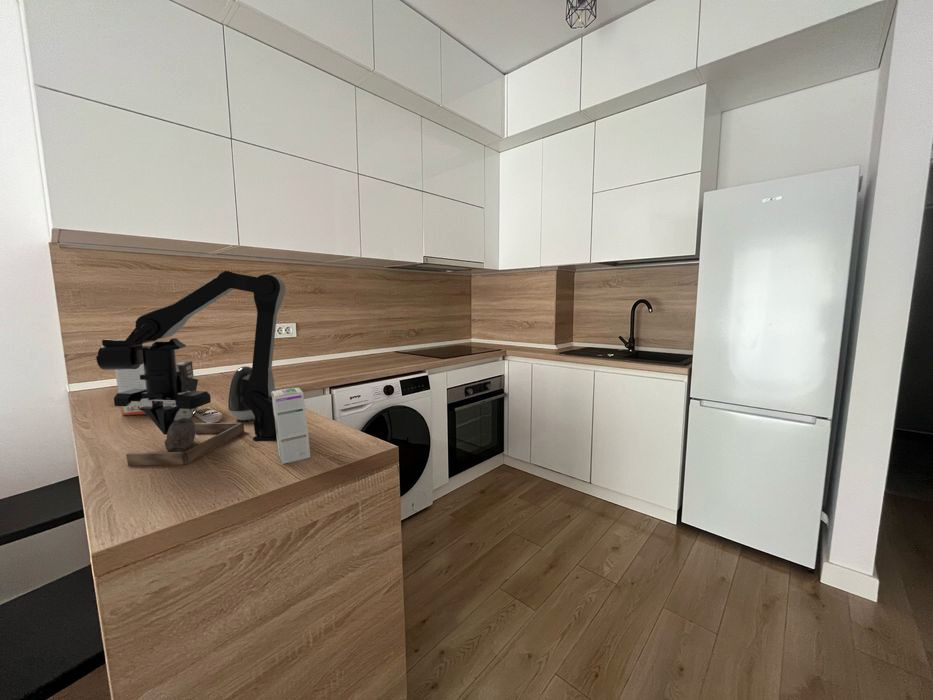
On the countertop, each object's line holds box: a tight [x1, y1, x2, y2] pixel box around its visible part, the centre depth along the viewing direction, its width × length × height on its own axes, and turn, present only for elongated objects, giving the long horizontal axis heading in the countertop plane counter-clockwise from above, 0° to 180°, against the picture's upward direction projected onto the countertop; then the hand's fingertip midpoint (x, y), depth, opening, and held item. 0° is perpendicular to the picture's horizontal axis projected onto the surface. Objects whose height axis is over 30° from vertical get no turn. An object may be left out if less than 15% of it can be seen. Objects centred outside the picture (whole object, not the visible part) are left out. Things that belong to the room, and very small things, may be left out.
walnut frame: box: [125, 422, 245, 466], centre depth 88 cm, size 13×19×2 cm, turn 178°
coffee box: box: [167, 360, 199, 422], centre depth 112 cm, size 9×6×16 cm
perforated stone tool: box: [164, 418, 196, 452], centre depth 87 cm, size 15×5×7 cm, turn 31°
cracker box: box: [114, 363, 147, 416], centre depth 118 cm, size 14×6×21 cm, turn 92°
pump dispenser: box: [227, 366, 255, 422], centre depth 109 cm, size 10×10×15 cm
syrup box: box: [272, 387, 311, 465], centre depth 80 cm, size 6×6×14 cm
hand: (166, 434), depth 88 cm, fingers closed
